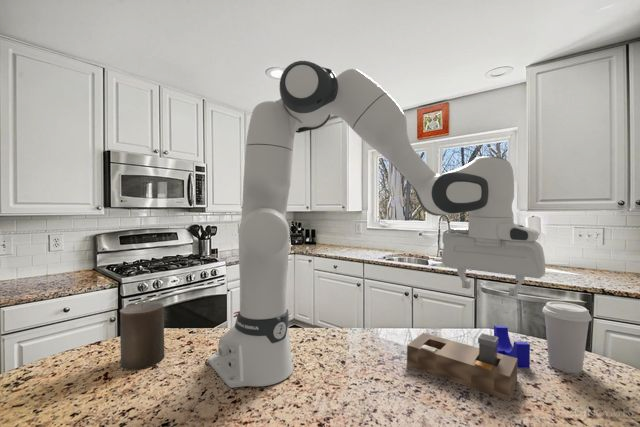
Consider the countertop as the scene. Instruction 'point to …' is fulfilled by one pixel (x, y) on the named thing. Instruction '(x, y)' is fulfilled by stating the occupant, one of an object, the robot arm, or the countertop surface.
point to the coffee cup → (566, 335)
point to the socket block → (463, 365)
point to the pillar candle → (142, 335)
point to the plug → (488, 349)
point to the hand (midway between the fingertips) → (488, 291)
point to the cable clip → (512, 347)
